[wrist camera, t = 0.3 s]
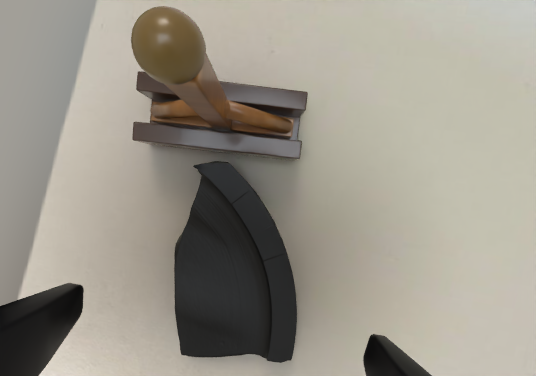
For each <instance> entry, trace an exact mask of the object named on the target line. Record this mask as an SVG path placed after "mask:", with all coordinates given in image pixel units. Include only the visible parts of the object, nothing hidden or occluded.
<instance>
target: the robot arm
mask: <svg viewBox="0 0 536 376" xmlns="http://www.w3.org/2000/svg"><path fill="white" fill-rule="evenodd" d="M83 292H84V290H83V286H81V285H78V284H72V283H67V284H64V285H61V286H58V287H55V288H52V289H49V290H46V291H43V292H40V293H37V294H34V295H32V296H29V297H26V298H23V299H20V300H17V301H14V302H11V303H8V304H6V305H2V306H0V376H39V374H40V373H41V372H42V370H43V369H44V368H45V367H46V365H47V364H48V362H49V361H50V360H51V358H52V357H53V355H54V354H55V352H56V351H57V349H58V348H59V347H60V345H61V344H62V342H63V341H64V339H65V338H66V336H67V335H68V333H69V332H70V330H71V329H72V328H73V326H74V325H75V323H76V322H77V320H78V319H79V317H80V315H81V313H82V309H83ZM363 361H364V367H365V372H366V376H432V375H430V374H429V373H428V372H427V371H426V370H425V369H423V368H422V367H421V366H420V365H419V364H417V363H416V362H415V361H414V360H413V359H411V358H410V357H409V356H408V355H407V354H406V353H404V352H403V351H402V350H401V349H400V348H398V347H397V346H396V345H395V344H394V343H392V342H391V341H390V340H389V339H388V338H387V337H385V336H382V335H376V334H373V335H371V336H370V338H369V341H368V344H367V347H366V350H365V353H364V360H363Z"/></svg>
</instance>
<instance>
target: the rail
mask: <svg viewBox="0 0 536 376" xmlns="http://www.w3.org/2000/svg"><path fill="white" fill-rule="evenodd" d="M219 82H220V85H221V87H222V89H223V91H224V93H225V95H226V98H227V100H230V101H233V102H236V103H239V104H242V105H245V106H248V107H252V108H255V109H258V110H261V111H264V112H267V113H270V114H273V115H276V116H279V117H286V118H293V119H294V125H293V133H292V137H291V138H290V139H286V138H277V137H269V136H260V135H252V134H243V133H234V132H226V131H217V130H209V129H200V128H191V127H183V126H174V125H166V124H158V123H156V122H153V121H151V117H150V123H142V122H134V127H133V140H134V141H139V142H143V143H148V144H153V145H162V146H170V147H179V148H188V149H197V150H206V151H214V152H223V153H232V154H241V155H250V156H258V157H267V158H276V159H285V160H297V159H300V154H301V145H302V141H297V138H298V130H299V121H300V116H301V115H302V114H303V113H304V111H305V110H306V103H307V95H308V93H307V92H302V91H294V90H286V89H278V88H270V87H262V86H253V85H245V84H237V83H229V82H221V81H219ZM136 89H137V90H138V91H139V92H141V93H142V94H144V95H145V96H147V97H148V98H150V99H152V103H153V102H160V103H164V102H170V101H176V100H182V99H180V98H179V97H178V96H177V95H176V94H175V93H174V92H173V91H171V90H170V89H169V88H168V87H167V86H166V85H165V84H164V83H161V82H158V81H156V80H155V79H153V78H152V77H150V76H149V75H148V74H146V73H145V72H140V71H139V72H138V76H137V88H136ZM151 107H152V105H151Z"/></svg>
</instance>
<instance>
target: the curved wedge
mask: <svg viewBox="0 0 536 376" xmlns="http://www.w3.org/2000/svg"><path fill="white" fill-rule="evenodd" d="M193 167H195V168H196V169H198V171H199V173H200V174H201V182H200V186H199V189H198V192H197V194H196V198H195V200H194V203H193V205H192V208H191V212H190V216H189V219H188V222H187V224H186V226H185V228H184V231H183V233H182V235H181V236H180V237H179V239H178V241H177V243H176V246H175V268H174V269H175V270H174V271H175V314H176V322H177V329H178V335H179V340H180V350H181V354H182V355H186V356H191V357H225V356H236V355H245V354H256V355H260V356H262V357H263V358H266V359H267V361H272V362H280V363H281V362H285V361H287V360H291V359H292V356H293V350H294V343H295V335H296V323H297V306H296V293H295V285H294V279H293V275H292V270H291V266H290V262H289V259H288V256H287V253H286V249H285V247H284V244H283V241H282V238H281V237H280V234H279V232H278V230H277V227H276V225H275V222H274V220H273V219H272V217H271V215H270V214H269V212H268V210H267V209H266V207H265V206H264V204H263V203H262V201H261V200H260V198H259V196H258V195H257V193H256V192H255V191H254V190H253V188H252V187H251V186H250V185H249V184H248V183H247V181H246V180H245V179H244V178H243V177H242V176H241V175H240V174H239V173H238V172H237V171H236V170H235V169H234V167H233V166H232V165H231V164H229V163H228V162H218V161H214V162H210V163H204V164H199V165H194V166H193Z"/></svg>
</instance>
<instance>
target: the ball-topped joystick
mask: <svg viewBox="0 0 536 376" xmlns="http://www.w3.org/2000/svg"><path fill="white" fill-rule="evenodd" d="M131 43H132V49H133V53H134V56H135V58H136V60H137V62H138V64H139V65H140V67H141V68H142V69H143V70H144V71H145V73H146V74H148V75H149V76H150V77H152V78H153V79H155V80H156V81H158V82H161V83H164V84H165V85H166V86H167V87H168V88H169V89H170V90H171V91H173V92H174V93H175V94H176V95H177V96H178V97H179V98H180V99H182V100H176V101H170V102H164V103H160V102H153V103H152V107H151V110H150V111H151V121H153V122H156V123H158V124H166V125H174V126H183V127H191V128H200V129H209V130H217V131H226V132H234V133H243V134H252V135H260V136H269V137H277V138H286V139H290V138H291V137H292V133H293V125H294V119H293V118H286V117H279V116H276V115H273V114H270V113H267V112H264V111H261V110H258V109H255V108H252V107H248V106H245V105H242V104H239V103H236V102H233V101H230V100H227V98H226V95H225V93H224V91H223V89H222V87H221V85H220V82H219V80H218V78H217V76H216V74H215V72H214V69H213V67H212V65H211V63H210V61H209V59H208V56H207V54H206V47H205V41H204V38H203V35H202V33H201V31H200V29H199V27H198V26H197V24H196V23H195V22H194V21H193V20H192V19H191V18H190V17H189V16H188V15H186V14H185V13H184V12H182V11H180V10H178V9H175V8H172V7H165V6H160V7H154V8H152V9H149V10H147V11H146V12H144V13H143V14H142V15H141V16H140V17H139V18H138V19H137V21H136V23H135V25H134V27H133V30H132V37H131Z"/></svg>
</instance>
